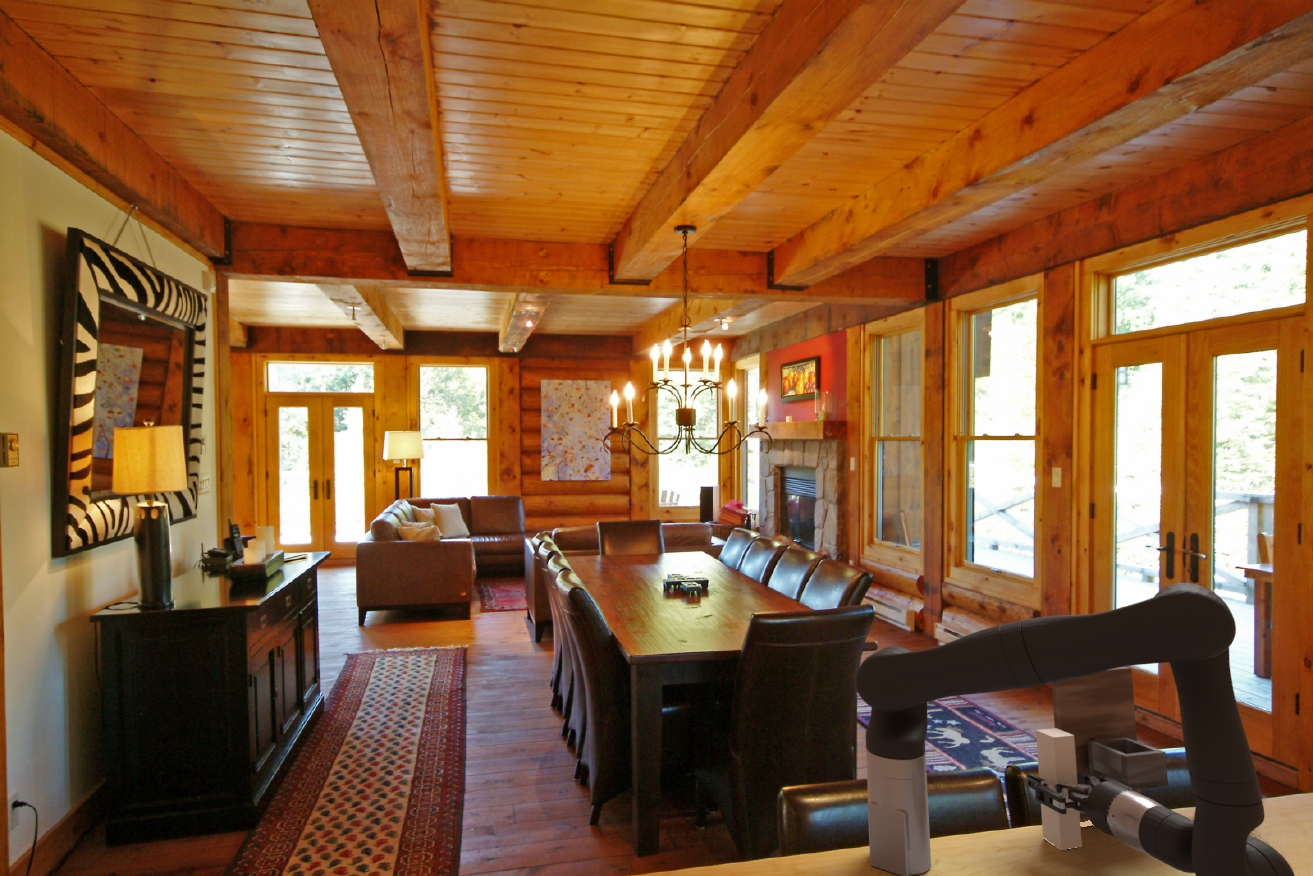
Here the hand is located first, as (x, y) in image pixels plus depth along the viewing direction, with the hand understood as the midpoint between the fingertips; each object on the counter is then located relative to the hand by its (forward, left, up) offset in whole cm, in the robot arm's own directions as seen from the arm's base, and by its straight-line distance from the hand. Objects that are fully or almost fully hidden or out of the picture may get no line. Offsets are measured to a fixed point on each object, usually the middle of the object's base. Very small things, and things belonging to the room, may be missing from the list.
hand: (1049, 777), depth 122 cm
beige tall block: (-1, -2, -10) cm, 10 cm away
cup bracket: (+11, -8, -10) cm, 17 cm away
